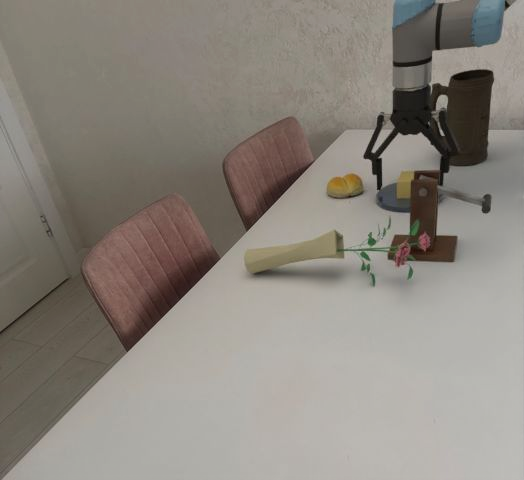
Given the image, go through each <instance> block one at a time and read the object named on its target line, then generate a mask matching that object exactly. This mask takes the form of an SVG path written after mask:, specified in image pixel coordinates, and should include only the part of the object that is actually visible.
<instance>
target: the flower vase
mask: <svg viewBox="0 0 524 480" xmlns="http://www.w3.org/2000/svg"><path fill="white" fill-rule="evenodd" d="M388 217H389V219H388V226H387V228H385V227H383V231H382V233H381V230H380V229H381V228H380V226H379V224H377V228H378V234H377V236H376V238H377V239H375V238H374V237H373V231H370V232H369V233H368V235H367V236H368V238H367V239H366V240H364V242H366V241H367V242H366V243H360V244H359V245H357V247H359V248H355V247H356V245H354V246H353V248H352V246H351V247H348V248H345V245H344V244H345V243H344V235H343V234H341V233H340V232H339V231H338V230H337V229H332V230H330V231H328V232H325V233H324V234H322V235H320V236H317V237H315V238H313V239H309V240H306V241H301V242H297V243H292V244H286V245H278V246H276V245H275V246H267V247H259V248H251V249H246V250H245V252H244V255H243V262H244V266H245V269H246V271H247V272H248V273H249V274H257V273H261V272H265V271H268V270H271V269H274V268H277V267H278V268H279V267H281V266H285V265H290V264H294V263H299V262H305V261H311V260H317V259H319V260H320V259H341V260H344V259H345V252H353V253H355V254H357V252H360V253H359V255H358V257H359V258H360V259H361V261H362V264H361V267H360V271H361V272H363V271H367V273H368V274H369V275H370V276H371V281H372V286H373V287H375V285H376V276H375V274H374V273H372V272H370V270H371V264H370V263H368V264H366V263H365V260H366V261H369V262H372V260H371V258H370V256H369V254H367V253H366V252H381V253H388V252H390V253H395V257H394V260H392V262H394V263H395V265H394V267H396V268H397V269H399V268H400V266H405V265H406V263H407V261H408V260H407V258H410V259H413V260H412V261H417V260H415V259H414V258H413V257H412V256H411V255H409V252H410V245H415V244H417V245H418V247H419V248H421V249H423V250H425V251H426V248H427V247H429V246H428V245H430V244H429V242H430V240H429V239H430V237H428V236H427V235H426V232H425V233H424V234H423V235H421V236H420V237H419V239H418V242H417V243H413V244H408V243H407V241H405V242H404V243H402V244H401V245H398V246H395V247H391V246H386V247H373V246H375V245H376V244H377V243H378V242H380V240H383V239H384V237H385V236H386V234H387V231H388V230H390V228H391V226H392V218H391V216H388ZM418 228H419V221H418V219H417V220H416V221H415V223H414V224H413V226H412V227H411V229H410V228H409V232H408V233H407V234H406V235H407V236H408V235H410V233H411V235H414V236H415V234H416V233H417V231H418ZM381 236H382V238H381ZM409 237H410V236H409ZM409 237H408V238H409ZM407 240H408V239H407ZM364 245H368V246H370V247H364V248H361V247H362V246H364ZM390 248H394V249H395V248H397V249H395V250H396V251H389V249H390ZM425 251H424V252H425ZM363 259H365V260H363ZM408 266H409V269H408V272H407V273H408V274H407V281H409V280H410V279H411V278H412V277H413V274H414V269H413V268H412V267H411V265H410V264H408Z"/></svg>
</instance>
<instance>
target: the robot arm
mask: <svg viewBox="0 0 524 480" xmlns="http://www.w3.org/2000/svg"><path fill="white" fill-rule="evenodd" d="M517 1H518V0H454V1H448V2H442V3H441V2H437V0H395V1H393V8H392V10H393V11H392V12H393V13H392V26H391V30H392V31H391V33H392V34H391V35H392V39H391V40H392V87H393V88H394V89H393V90H392V111H391V113H385V111H381V112H379V114H378V116H377V118H376V126H375V129H374V130H373V133H372V135H371V138H370V139H369V142H368V143H367V145H366V149H365V151H364V153H363V155H362V157H363V159H364V160H369V161H370V162H371V175H372V176H376V191H379V190H381V189H382V188H383V157H381V156H382V154H383V153H384V152H385V151H386V149H387V148H389V145H391V143H392V142H393V140H394V139H396V137H397V136H398V135H399V134H400V135H402V136H409V135H412V136H418V135H419V134H422V135H423V136H424V138H426V139H427V140H428V141H429V143H430V142H431V143H432V145H431V146H433V147H434V148H435V149H436V151H437V152H438V153H439V154H440V155H441V156H440V158H439V170H440V183H439V186H442V187H444V181H445V180H444V178H445V174H449V171H450V168H451V164H450V158H451V157H453V156H457V155H458V154H459V151H460V147H459V145H458V143H457V140H456V138H455V136H454V134H453V132H452V129H451V127H450V125H449V123H448V121H447V118H446V109H447V108H446V107H443V106H442V107H441V108H440V109H436V111H431V108H430V99H431V93H432V85H430V84H431V82H432V73H433V51H434V52H435V51H443V50H444V51H445V50H455V49H465V48H467V49H468V48H476V47H477V48H482V47H484V46H490V45H495V44H498V42H499V41H500V40H501V37H502V32H503V26H504V25H503V24H504V17H505V16H504V15H505V12H506V11H507V10H508V9H509V8H510V7H511V6H512V5H514V3H516V2H517ZM432 117H433V118H435V120H436V121H437V122H438V125H439V128H440V129H441V132H442V134H443V136H445V138H446V140H447V142H448V144H449V146H450V150H449V149H448V147H447V146H446V145H445V144H444V143H443V141H442V140H441V139H440V138H439V137H438V136H437V134H436V133H435V132H434V131H433V130H432V128H431V126H430V124H429V121H430V120H431V118H432ZM389 121H390V122H391V125H393V129H392V130H391V131H390V133H389V134H388V135H387V137H386V138H385V139H384V140H383V141H382V143H381V144H380V145H379V147H378V148H377V149H376V151H375V152H373V149H374V147H375V145H376V143H377V140H378V138H379V136H380V134H381V132H382V130H383V127H384V126H386V125H387V124H388V122H389ZM431 143H430V144H431Z"/></svg>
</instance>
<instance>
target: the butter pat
mask: <svg viewBox="0 0 524 480" xmlns="http://www.w3.org/2000/svg"><path fill="white" fill-rule="evenodd" d="M415 171H416V170H406V171H405V170H403V171H402V170H401V172H400V174H399V176H398V178H397V180H396V183H397V199H409V198H410V193H411V180H414V172H415Z"/></svg>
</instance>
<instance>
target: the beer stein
mask: <svg viewBox="0 0 524 480" xmlns="http://www.w3.org/2000/svg"><path fill="white" fill-rule="evenodd" d="M494 74H495V73H494V71H493V70H491V69H484V68H482V69H481V68H478V69H469V70H464V71H460V72H457V73H454V74H452V75H451V76H450V78H449V82H448V86H447V85H442V84H441V82H436V83H435V82H434V83H432V84H431V99H430V108H431V111H436V110H437V103H438V99H439V98H440V97H441V96H446V98H447V104H446V108H445V109H446V118H447V121H448V123H449V125H450V127H451V129H452V132H453V134H454V136H455V138H456V140H457V143H458V145H459V147H460V151H459V154H458V155H457V156H453V157H451V158H450V166H457V167H464V166H465V167H466V166H472V165H477V164H481V163H482V162H484V161H486V160H487V159H488V156H489V155H488V147H489V144H490V143H489V130H490V117H491V105H492V104H491V101H492V92H493V91H492V90H493V84H494V83H495V77H494ZM428 124H429V125H430V126H431V128H432V130H433V131H434V132H435V133H436V134H437V136H438V137H439V138H440V139H441V140H442V141H443V143H444V144H445V145H446V146H447V147H448V149H449V150H450V146H449V144H448V142H447V140H446V138H445V136H444V135H442V133H441V131H440V126H439V122H437V121H436V120H435V118H433V117H432V118H431V120H430V121H429V122H428ZM429 143H430V145H431V146H433V145H432V143H431V142H430V141H429Z"/></svg>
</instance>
